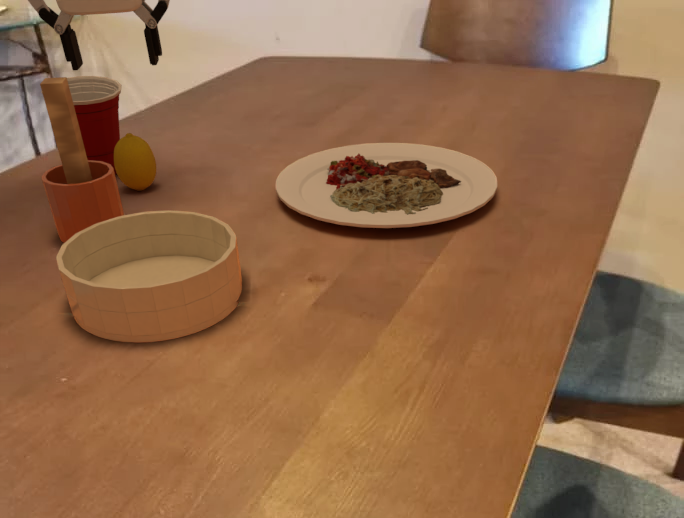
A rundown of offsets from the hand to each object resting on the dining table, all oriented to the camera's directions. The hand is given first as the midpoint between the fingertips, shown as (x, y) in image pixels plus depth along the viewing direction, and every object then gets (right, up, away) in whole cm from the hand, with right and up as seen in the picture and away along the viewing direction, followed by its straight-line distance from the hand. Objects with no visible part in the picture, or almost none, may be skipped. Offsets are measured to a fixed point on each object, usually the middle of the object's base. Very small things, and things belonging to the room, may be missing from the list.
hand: (116, 65), depth 91 cm
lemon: (0, -12, +11) cm, 16 cm away
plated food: (+34, -13, +8) cm, 38 cm away
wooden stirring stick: (-3, -21, 0) cm, 21 cm away
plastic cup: (-7, -7, +17) cm, 20 cm away
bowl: (+9, -32, -12) cm, 35 cm away
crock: (-3, -22, 0) cm, 22 cm away
